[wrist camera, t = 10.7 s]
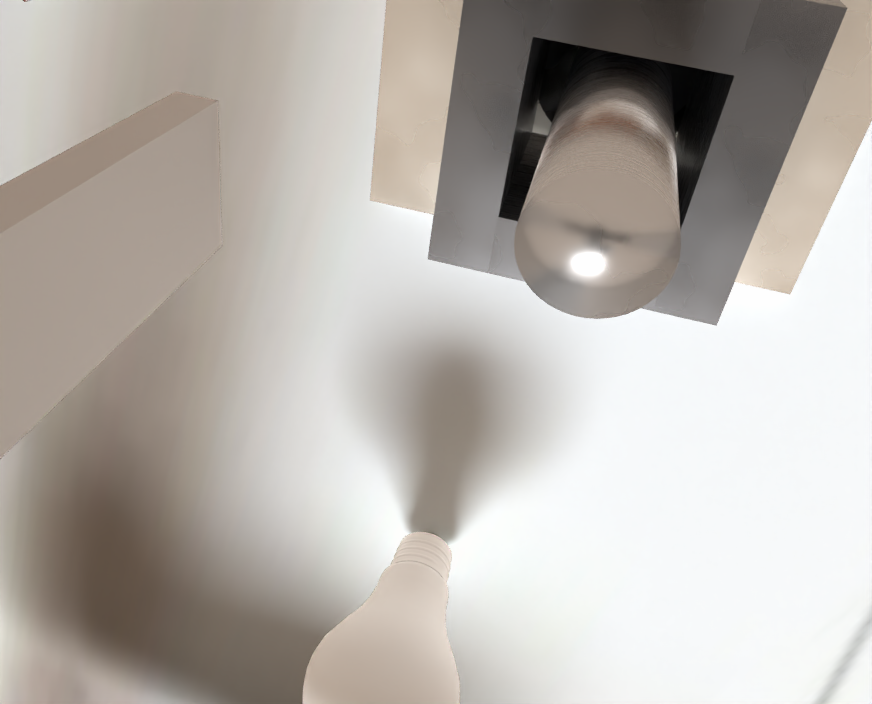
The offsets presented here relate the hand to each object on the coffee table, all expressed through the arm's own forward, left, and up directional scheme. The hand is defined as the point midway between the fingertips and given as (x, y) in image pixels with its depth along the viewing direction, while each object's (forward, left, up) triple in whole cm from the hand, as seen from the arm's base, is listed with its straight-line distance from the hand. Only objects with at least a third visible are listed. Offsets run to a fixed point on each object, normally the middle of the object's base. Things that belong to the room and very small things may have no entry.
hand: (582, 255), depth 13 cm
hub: (0, 0, -11) cm, 11 cm away
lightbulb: (-23, +3, -13) cm, 26 cm away
